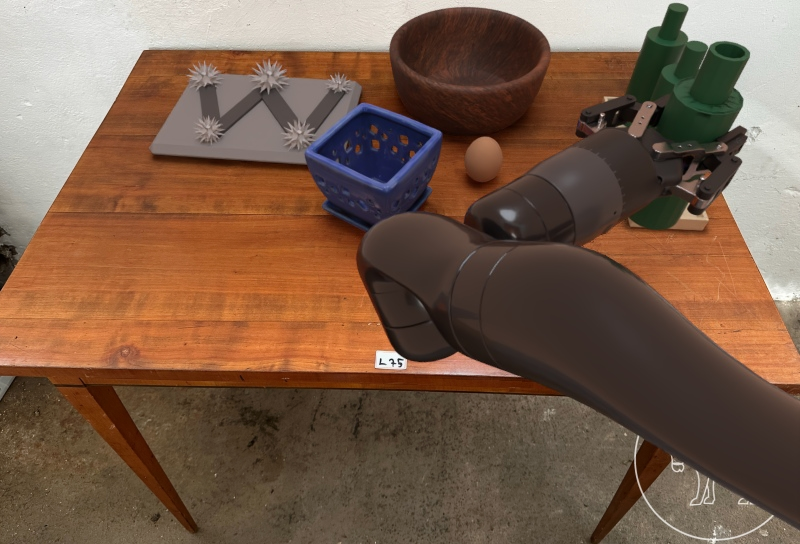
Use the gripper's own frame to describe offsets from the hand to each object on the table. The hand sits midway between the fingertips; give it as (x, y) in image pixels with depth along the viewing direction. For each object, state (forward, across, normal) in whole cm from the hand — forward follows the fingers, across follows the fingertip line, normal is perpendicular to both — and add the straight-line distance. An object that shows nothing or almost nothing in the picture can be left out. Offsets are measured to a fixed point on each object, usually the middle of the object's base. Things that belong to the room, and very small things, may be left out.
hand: (708, 118), depth 50 cm
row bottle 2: (+19, +13, +23) cm, 33 cm away
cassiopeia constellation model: (-23, +56, +24) cm, 65 cm away
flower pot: (-19, +28, +24) cm, 41 cm away
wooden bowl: (+7, +41, +24) cm, 48 cm away
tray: (+19, +13, +23) cm, 33 cm away
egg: (-3, +25, +24) cm, 34 cm away
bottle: (-2, 0, +10) cm, 11 cm away
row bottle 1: (+26, +20, +23) cm, 40 cm away
